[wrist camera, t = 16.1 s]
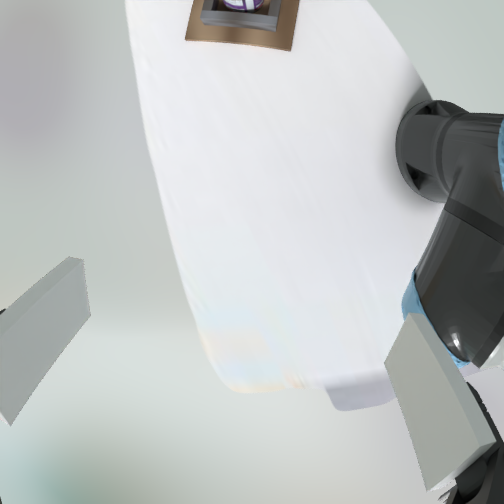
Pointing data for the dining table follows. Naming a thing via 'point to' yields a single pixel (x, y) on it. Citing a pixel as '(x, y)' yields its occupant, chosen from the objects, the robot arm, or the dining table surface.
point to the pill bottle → (243, 5)
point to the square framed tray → (244, 24)
